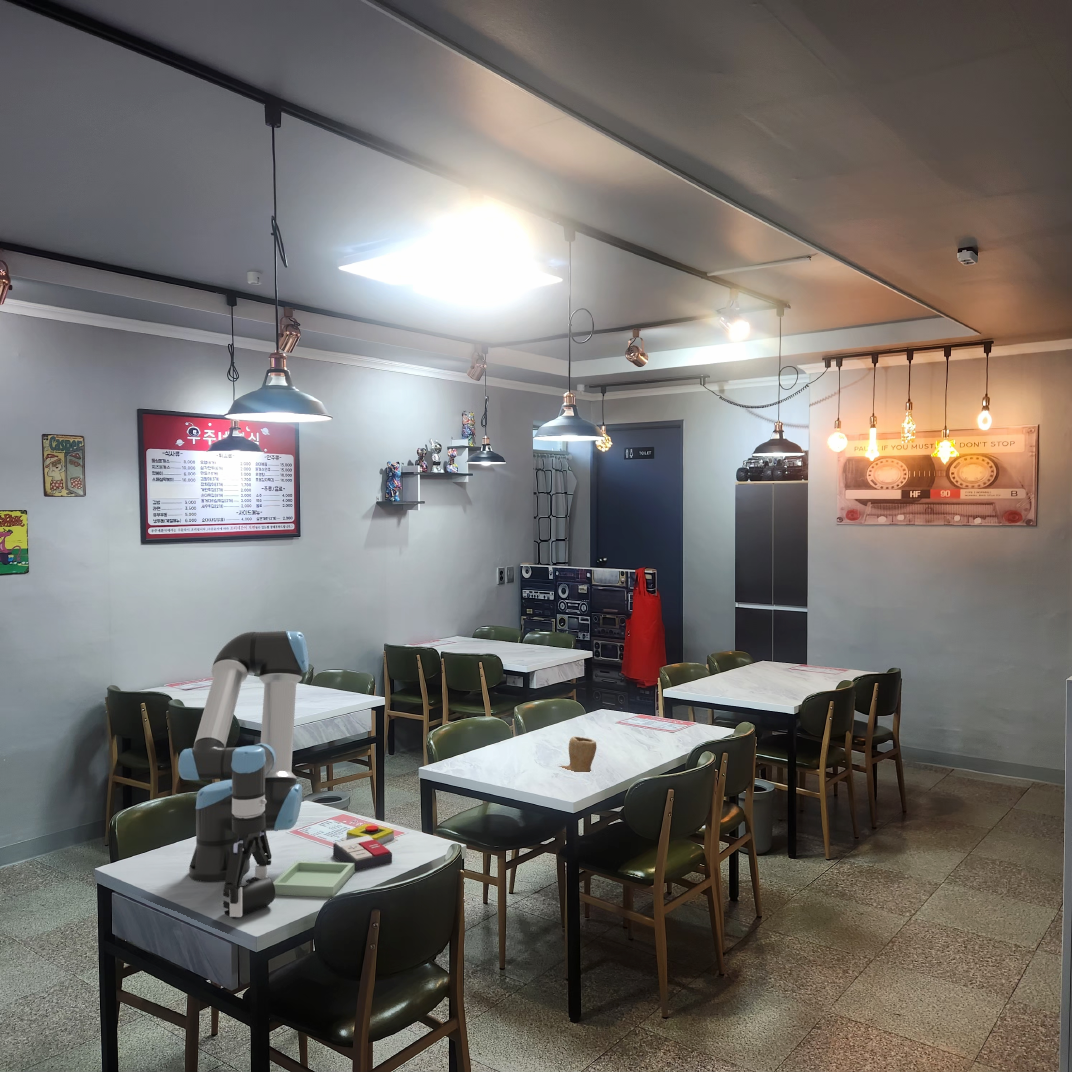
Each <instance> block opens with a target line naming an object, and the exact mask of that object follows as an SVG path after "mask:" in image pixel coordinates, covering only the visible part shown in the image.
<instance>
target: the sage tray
mask: <svg viewBox="0 0 1072 1072" xmlns="http://www.w3.org/2000/svg"><path fill="white" fill-rule="evenodd" d="M355 872H356V871H355V865H354V863H343V862H333V861H331V862H330V861H329V862H328V861H309V860H307V861H305V860H303V861H301V860H296V861H295V862H293V864H291V865H290V866H288V868H286V870H285V871H284V872H283V873H281V875H279V876H278V877H277V878H276V879H275V880H274V881H272V882H273V884H274V886H275V896H276V895H277V896H283V895H284V896H301V897H302V896H303V897H320V898H321V897H323V898H325V897H326V898H334V897H335V896H336V894H337V893H339V891H340V890H341V889H342V888H343V886H344V885H346V883H347V882H348V881H349V879H350V878H351V877H352V876H353V875H354V874H355Z"/></svg>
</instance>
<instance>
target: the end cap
mask: <svg viewBox="0 0 1072 1072" xmlns="http://www.w3.org/2000/svg"><path fill="white" fill-rule="evenodd" d="M273 882H274V881H272V879H271V878H270V877H268V876H267V878H264V879H259V878H257V877H255V876H253V877H251V878H248V879H245V883H247V884H244V885H241V886H240V887H242V916H245V915H247V914H251V913H252V912H255V911H258V910H260V909H263V908H266V907H268V906H269V905H271V904H272V903H273V902H274V900H275V898H276V895H275V886H274V884H273ZM222 896H223V897H226V898H228V899H229V900H230V889H224V888H223V891H222ZM222 902H223V903H222V905H223V908H224V909H226V910H224V913H223V914H224V915H226V916H227V917H229V918H231V919H237V918H238V917H230V901H227V900H223V901H222Z"/></svg>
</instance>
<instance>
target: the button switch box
mask: <svg viewBox="0 0 1072 1072" xmlns="http://www.w3.org/2000/svg"><path fill="white" fill-rule="evenodd" d="M332 844H333V847H332V853H333V855H332V857H334V858H335V859H337V860H339V861H341V863H354V865H355V872H358V871H362V870H366V869H369V868H370V869H371V868H373V867H377V866H378V867H379V866H383V865H386V864H391V863H392V862H393V852H391V851H390V849H389V848H387V847H386V846H383V845H381V844H380V843H379V842H377V841H376V840H374V839H372V838H371V837H370V836H363V837H359V838H354V839H349V840H345V841H342V840H341V841H337V842H335V843H332Z"/></svg>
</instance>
